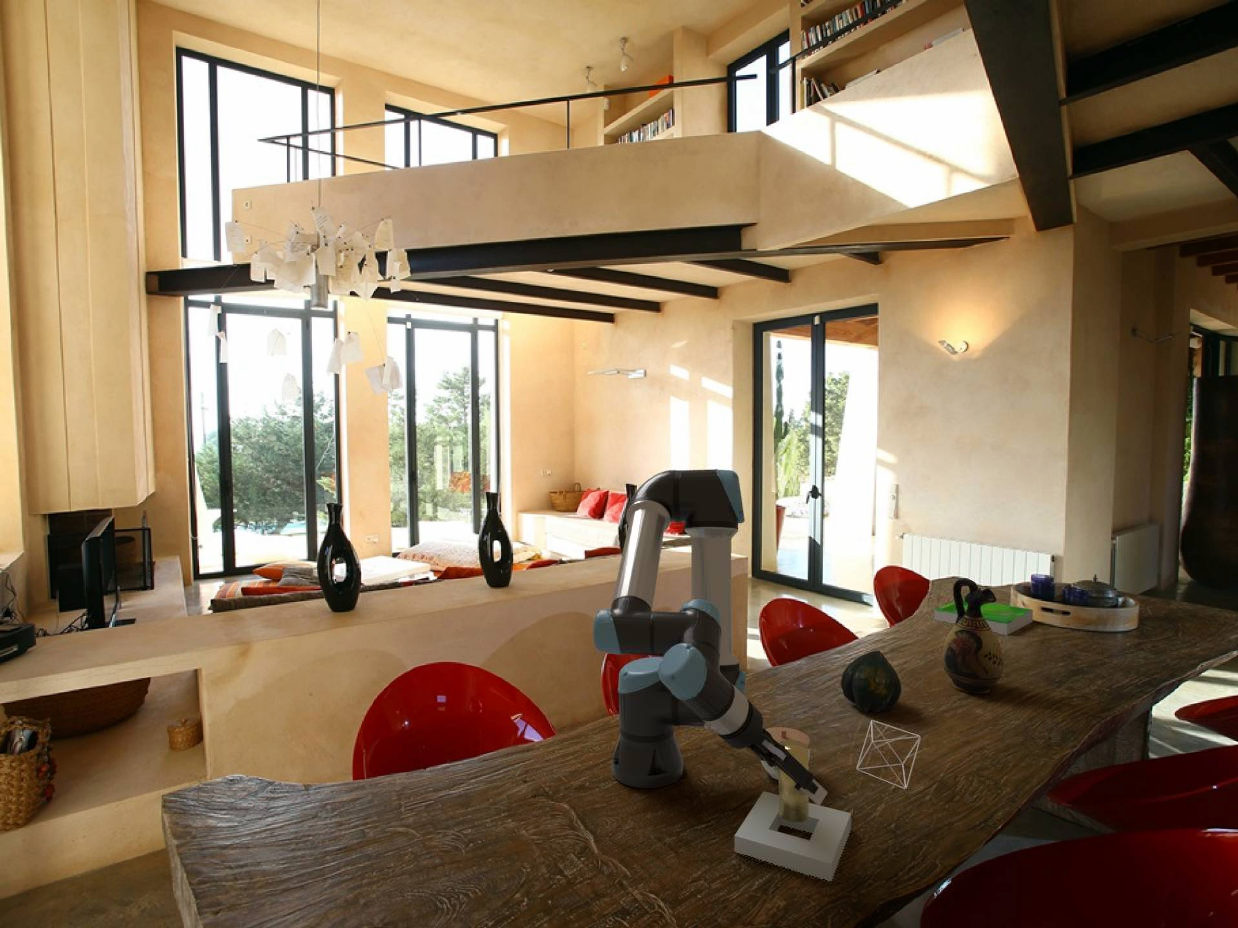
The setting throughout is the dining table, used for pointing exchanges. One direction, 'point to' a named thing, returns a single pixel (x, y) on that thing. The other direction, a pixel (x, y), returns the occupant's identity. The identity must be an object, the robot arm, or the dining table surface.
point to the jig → (794, 838)
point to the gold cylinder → (790, 798)
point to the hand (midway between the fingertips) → (810, 790)
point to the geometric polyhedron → (893, 751)
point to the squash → (871, 682)
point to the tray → (991, 616)
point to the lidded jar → (781, 735)
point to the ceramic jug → (972, 643)
